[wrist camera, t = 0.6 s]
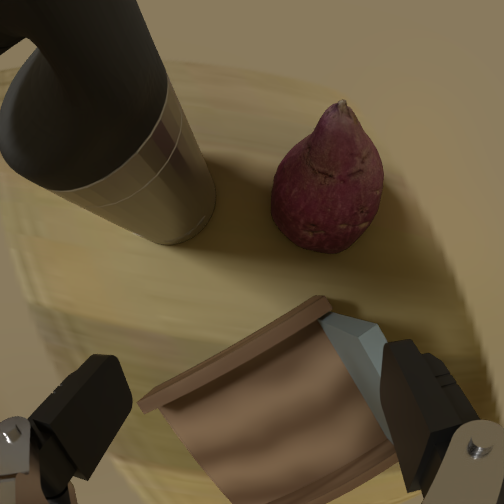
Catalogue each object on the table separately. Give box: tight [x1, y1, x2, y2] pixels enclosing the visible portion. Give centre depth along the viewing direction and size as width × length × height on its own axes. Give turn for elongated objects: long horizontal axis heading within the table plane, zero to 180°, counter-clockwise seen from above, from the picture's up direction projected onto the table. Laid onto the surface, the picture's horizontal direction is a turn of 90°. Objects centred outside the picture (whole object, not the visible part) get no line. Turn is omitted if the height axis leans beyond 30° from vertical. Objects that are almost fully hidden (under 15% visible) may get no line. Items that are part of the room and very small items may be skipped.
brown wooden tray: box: [137, 295, 398, 504], centre depth 25 cm, size 18×18×5 cm
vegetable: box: [271, 100, 384, 254], centre depth 25 cm, size 10×10×15 cm
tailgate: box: [317, 311, 394, 445], centre depth 20 cm, size 14×2×12 cm, turn 31°
